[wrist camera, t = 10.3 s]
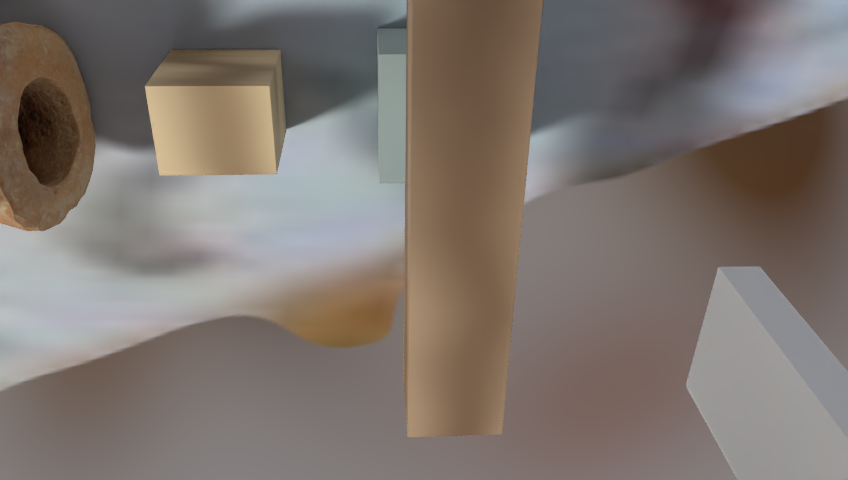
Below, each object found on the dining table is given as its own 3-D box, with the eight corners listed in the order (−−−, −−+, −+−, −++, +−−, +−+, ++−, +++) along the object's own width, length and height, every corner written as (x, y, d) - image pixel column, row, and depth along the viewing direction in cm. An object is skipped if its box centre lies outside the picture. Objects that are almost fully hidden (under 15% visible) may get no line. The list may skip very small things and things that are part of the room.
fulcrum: (378, 147, 39) (381, 226, 32) (377, 28, 36) (380, 86, 29) (497, 146, 40) (525, 223, 33) (505, 28, 37) (538, 86, 30)
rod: (403, 375, 36) (407, 437, 33) (407, -152, 25) (415, -142, 22) (488, 372, 37) (501, 434, 33) (530, -151, 26) (556, -139, 22)
